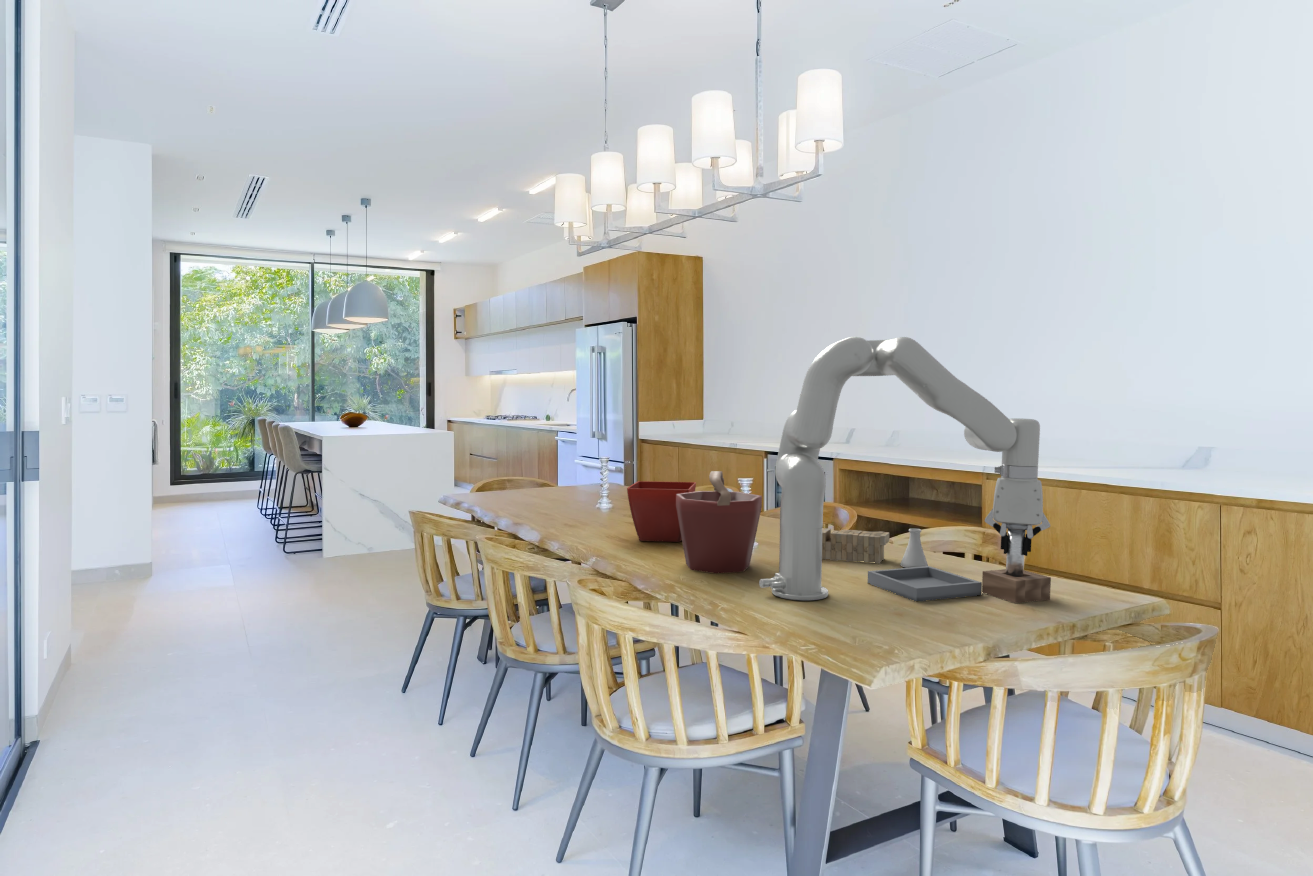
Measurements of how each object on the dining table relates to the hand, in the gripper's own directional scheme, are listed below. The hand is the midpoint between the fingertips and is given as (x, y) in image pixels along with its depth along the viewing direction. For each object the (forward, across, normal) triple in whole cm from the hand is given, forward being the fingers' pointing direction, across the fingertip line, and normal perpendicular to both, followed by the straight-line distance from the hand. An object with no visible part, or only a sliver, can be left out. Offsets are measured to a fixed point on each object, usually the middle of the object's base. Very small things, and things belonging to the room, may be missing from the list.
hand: (1015, 553), depth 182 cm
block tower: (+11, -46, +25) cm, 54 cm away
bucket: (+11, -72, -1) cm, 73 cm away
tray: (+10, -19, -3) cm, 22 cm away
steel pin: (+6, 0, 0) cm, 6 cm away
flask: (+10, -24, +22) cm, 34 cm away
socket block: (+10, 0, 0) cm, 10 cm away
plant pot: (+11, -101, +29) cm, 105 cm away
